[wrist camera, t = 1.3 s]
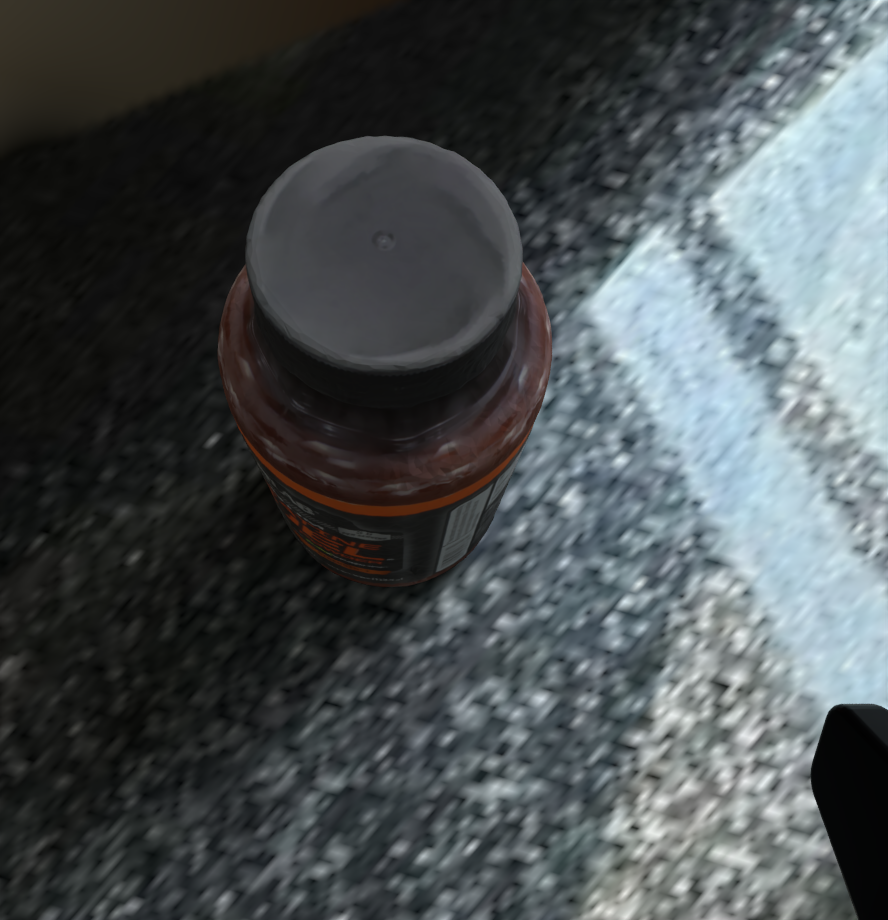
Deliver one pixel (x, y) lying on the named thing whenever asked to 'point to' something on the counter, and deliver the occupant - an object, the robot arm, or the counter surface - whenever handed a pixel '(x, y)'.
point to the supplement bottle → (385, 355)
